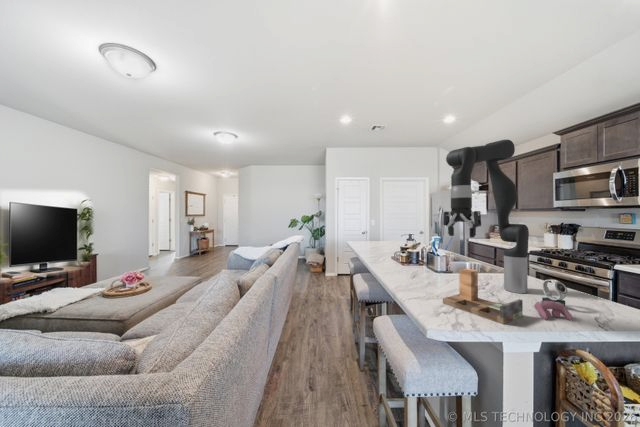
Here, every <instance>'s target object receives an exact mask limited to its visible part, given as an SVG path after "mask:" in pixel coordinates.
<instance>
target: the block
mask: <svg viewBox="0 0 640 427" xmlns="http://www.w3.org/2000/svg"><path fill="white" fill-rule="evenodd" d="M458 277H459V284H458V285H459V294H460V297H461V298H464V299H467V300H471V301H472V300H475V299H478V298H479V281H478V280H479V271H478V270H477V269H476V270H475V269H470V268H462V269H459V276H458Z"/></svg>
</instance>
